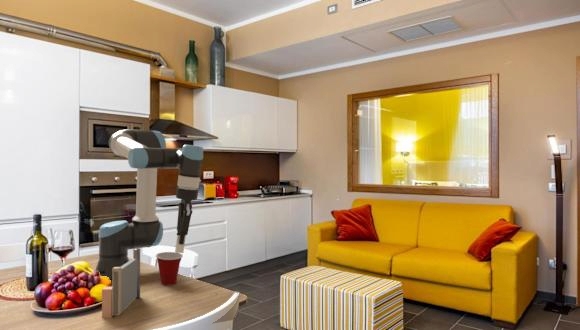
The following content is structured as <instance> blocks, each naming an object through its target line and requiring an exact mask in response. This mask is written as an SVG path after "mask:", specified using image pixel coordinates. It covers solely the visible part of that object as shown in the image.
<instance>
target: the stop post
mask: <svg viewBox="0 0 580 330" xmlns="http://www.w3.org/2000/svg"><path fill="white" fill-rule="evenodd" d="M113 316H114V315H112V286H105V287H103V288H102V289H101V317H102V318H112V317H113Z"/></svg>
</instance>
